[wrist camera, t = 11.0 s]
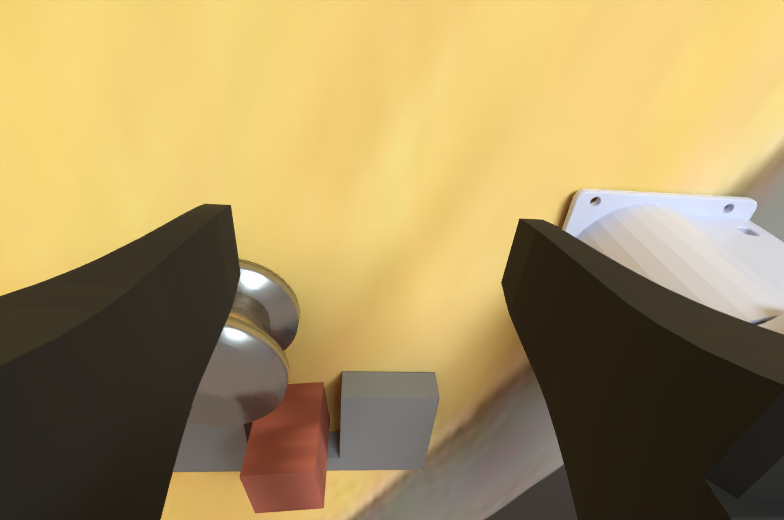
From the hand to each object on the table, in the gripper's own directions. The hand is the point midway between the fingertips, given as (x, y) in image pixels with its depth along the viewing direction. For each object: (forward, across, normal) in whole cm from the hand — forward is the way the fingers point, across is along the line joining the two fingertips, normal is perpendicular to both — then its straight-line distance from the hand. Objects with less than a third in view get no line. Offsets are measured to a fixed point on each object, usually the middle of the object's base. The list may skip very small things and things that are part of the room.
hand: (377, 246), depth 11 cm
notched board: (+9, +4, +20) cm, 22 cm away
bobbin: (+9, +7, +10) cm, 16 cm away
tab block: (+10, +4, +19) cm, 21 cm away
